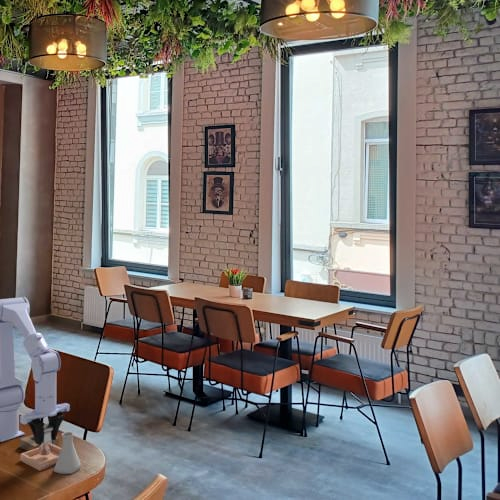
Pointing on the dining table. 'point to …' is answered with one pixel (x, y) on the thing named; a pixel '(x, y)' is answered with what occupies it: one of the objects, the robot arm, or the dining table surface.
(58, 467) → the flask
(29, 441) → the brown square frame
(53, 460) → the tray
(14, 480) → the dining table surface
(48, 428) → the pin
